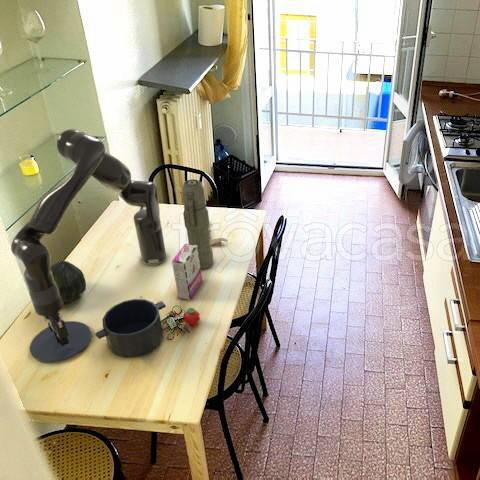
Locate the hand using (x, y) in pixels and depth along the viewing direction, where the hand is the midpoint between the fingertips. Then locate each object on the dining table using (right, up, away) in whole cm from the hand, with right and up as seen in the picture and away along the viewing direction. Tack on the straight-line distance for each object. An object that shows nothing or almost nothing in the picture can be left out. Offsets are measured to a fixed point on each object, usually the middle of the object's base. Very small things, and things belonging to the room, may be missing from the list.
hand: (59, 336), depth 159 cm
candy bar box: (+34, +12, +25) cm, 44 cm away
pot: (+23, -1, +4) cm, 23 cm away
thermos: (+35, +21, +39) cm, 57 cm away
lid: (0, -2, +1) cm, 2 cm away
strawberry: (+39, +2, +10) cm, 40 cm away
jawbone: (+37, +32, +56) cm, 75 cm away
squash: (-8, +10, +20) cm, 24 cm away
